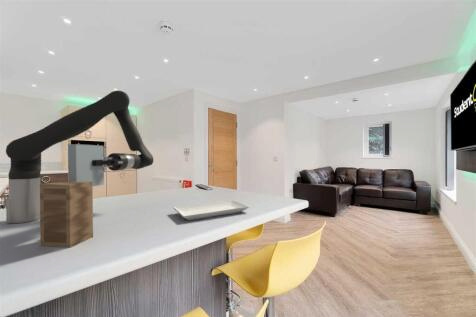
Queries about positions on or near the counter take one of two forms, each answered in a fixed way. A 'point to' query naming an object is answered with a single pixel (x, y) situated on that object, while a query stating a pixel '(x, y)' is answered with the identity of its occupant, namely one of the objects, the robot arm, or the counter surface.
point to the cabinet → (66, 213)
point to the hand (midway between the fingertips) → (88, 163)
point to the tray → (210, 209)
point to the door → (85, 163)
